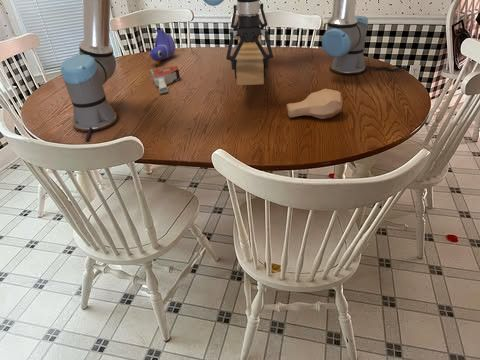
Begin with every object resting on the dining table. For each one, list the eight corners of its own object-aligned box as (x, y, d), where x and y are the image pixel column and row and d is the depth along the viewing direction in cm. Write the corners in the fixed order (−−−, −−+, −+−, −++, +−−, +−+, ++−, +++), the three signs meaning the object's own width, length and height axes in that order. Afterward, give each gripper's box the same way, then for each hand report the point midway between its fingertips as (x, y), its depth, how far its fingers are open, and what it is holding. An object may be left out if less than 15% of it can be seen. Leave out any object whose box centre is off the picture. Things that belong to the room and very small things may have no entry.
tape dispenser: (164, 98, 152) (192, 79, 164) (161, 86, 148) (191, 68, 161) (134, 89, 159) (163, 72, 172) (131, 78, 156) (161, 61, 168)
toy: (163, 61, 202) (144, 66, 180) (159, 29, 195) (138, 31, 173) (180, 60, 200) (162, 66, 177) (176, 28, 193) (156, 29, 171)
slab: (263, 84, 131) (263, 65, 127) (237, 85, 131) (236, 67, 127) (259, 39, 177) (259, 25, 173) (239, 40, 178) (239, 26, 173)
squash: (346, 119, 125) (347, 98, 118) (290, 129, 126) (288, 109, 120) (339, 102, 132) (339, 81, 126) (285, 111, 134) (283, 91, 128)
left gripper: (280, 10, 125) (278, 72, 138) (216, 13, 126) (221, 74, 139) (282, 15, 119) (280, 79, 132) (215, 17, 120) (220, 81, 133)
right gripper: (272, -12, 161) (272, 39, 175) (223, -9, 162) (226, 41, 176) (273, -10, 155) (273, 43, 169) (222, -7, 156) (226, 45, 170)
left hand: (250, 77), depth 136 cm, fingers closed on slab, 10 cm apart
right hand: (249, 42), depth 172 cm, fingers closed on slab, 10 cm apart
